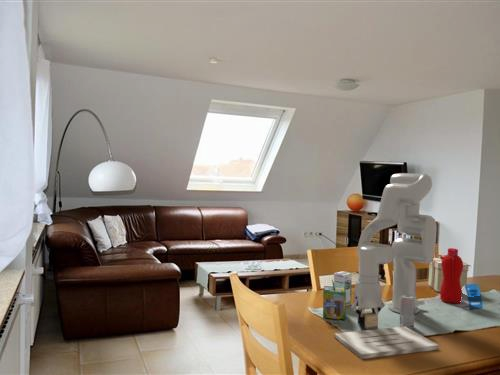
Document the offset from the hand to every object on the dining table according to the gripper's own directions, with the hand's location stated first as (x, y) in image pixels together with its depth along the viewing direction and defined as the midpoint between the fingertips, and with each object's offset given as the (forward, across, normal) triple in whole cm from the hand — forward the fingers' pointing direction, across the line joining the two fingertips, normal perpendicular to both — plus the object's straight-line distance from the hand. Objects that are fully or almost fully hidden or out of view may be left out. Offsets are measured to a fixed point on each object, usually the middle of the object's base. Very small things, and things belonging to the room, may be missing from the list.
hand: (367, 324), depth 166 cm
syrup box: (+2, -4, -28) cm, 28 cm away
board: (+1, +3, +15) cm, 16 cm away
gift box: (+3, -72, -38) cm, 82 cm away
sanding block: (+1, 0, 0) cm, 1 cm away
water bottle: (+3, -57, -20) cm, 61 cm away
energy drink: (+2, -15, +3) cm, 16 cm away
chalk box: (+1, +7, -15) cm, 16 cm away
